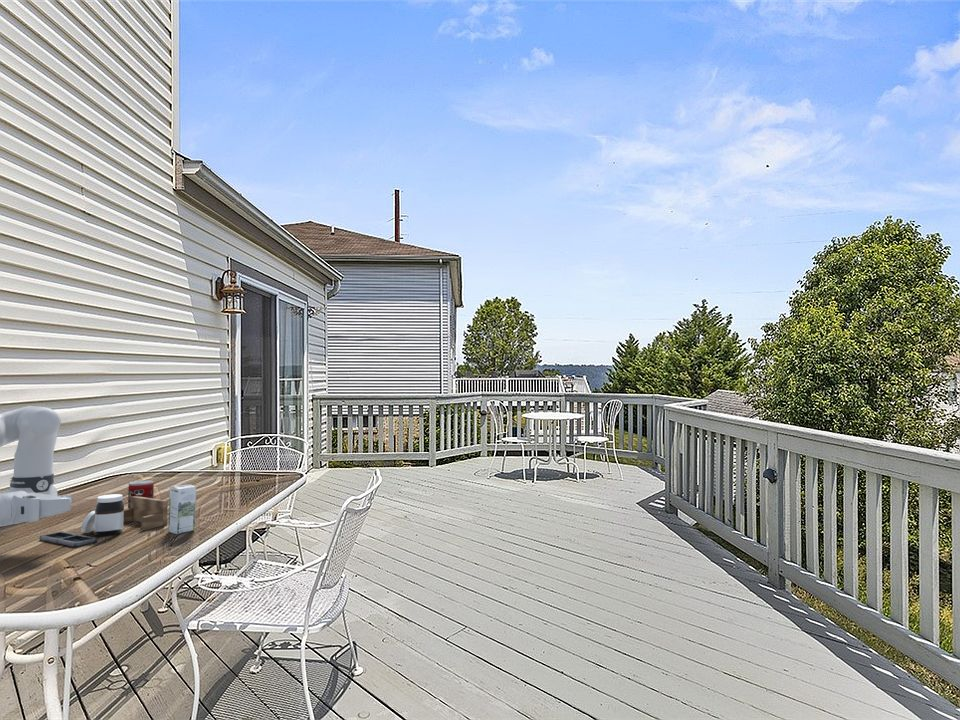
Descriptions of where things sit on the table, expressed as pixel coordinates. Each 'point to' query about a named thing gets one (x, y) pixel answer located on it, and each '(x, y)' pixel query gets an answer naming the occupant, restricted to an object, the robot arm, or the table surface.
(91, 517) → the spread jar
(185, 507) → the syrup box
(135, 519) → the brown box
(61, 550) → the table surface
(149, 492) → the canned food
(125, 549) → the table surface
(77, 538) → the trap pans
